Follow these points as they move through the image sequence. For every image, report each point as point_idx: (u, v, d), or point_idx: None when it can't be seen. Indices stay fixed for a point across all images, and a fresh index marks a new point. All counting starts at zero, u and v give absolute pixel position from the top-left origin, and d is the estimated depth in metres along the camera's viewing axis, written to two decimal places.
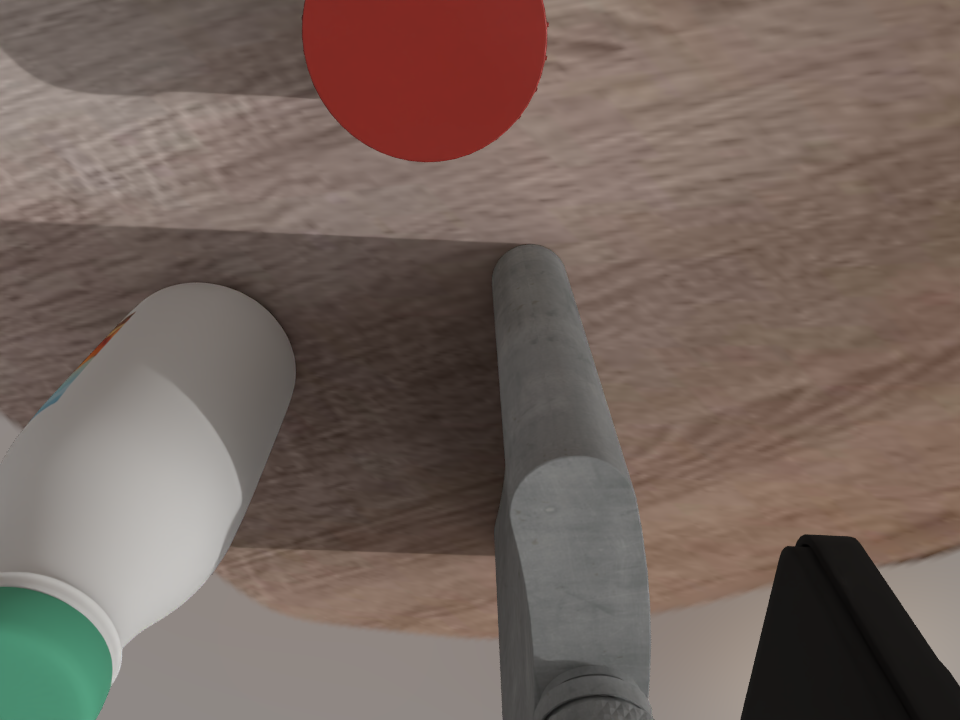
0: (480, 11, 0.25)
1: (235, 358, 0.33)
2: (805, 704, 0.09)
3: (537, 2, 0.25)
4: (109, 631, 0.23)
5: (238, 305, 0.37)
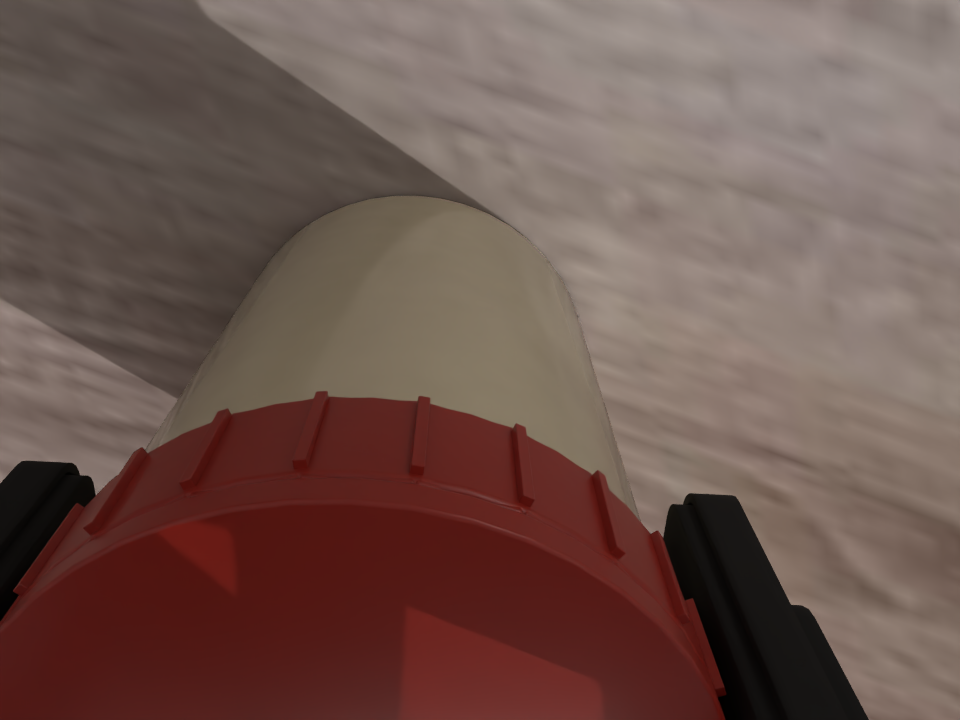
0: None
1: None
2: None
3: None
4: None
5: None
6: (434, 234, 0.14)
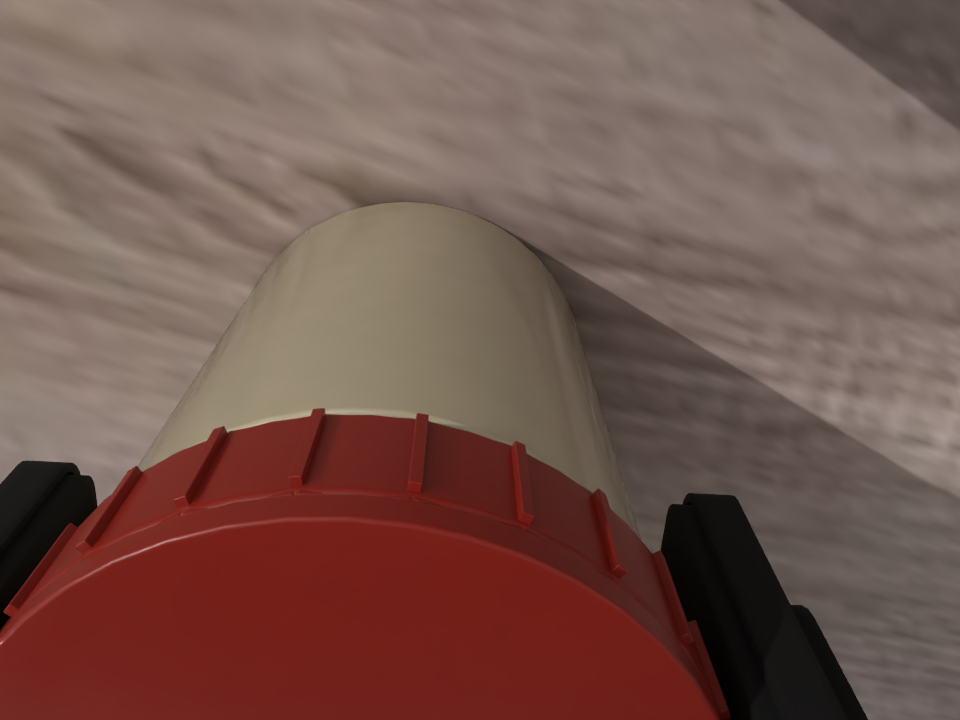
0: None
1: None
2: None
3: None
4: None
5: None
6: None
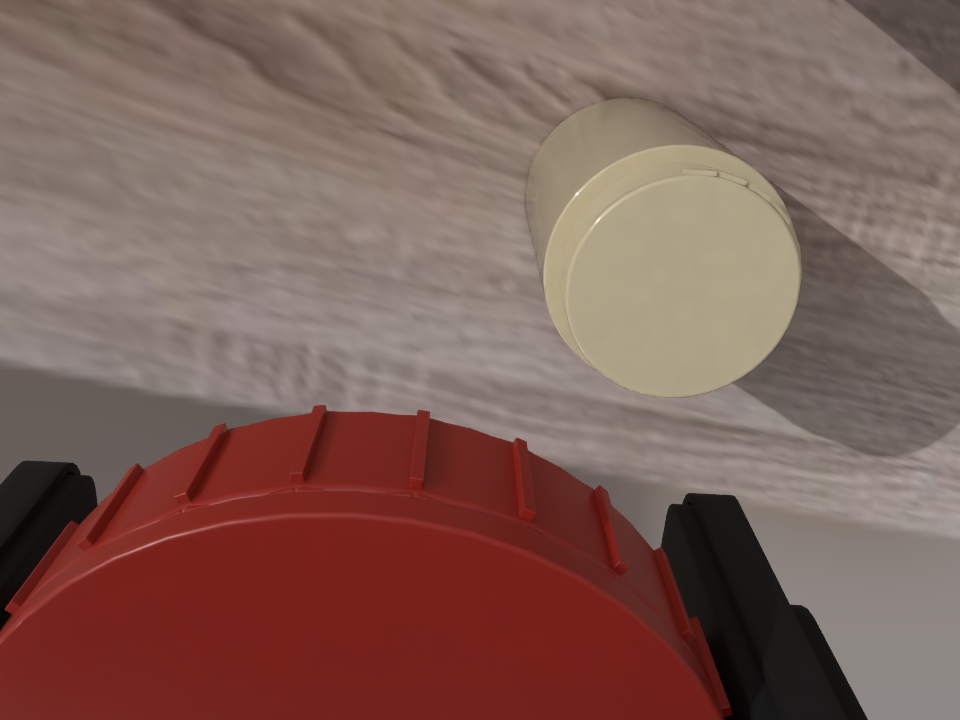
0: None
1: None
2: None
3: None
4: None
5: None
6: None
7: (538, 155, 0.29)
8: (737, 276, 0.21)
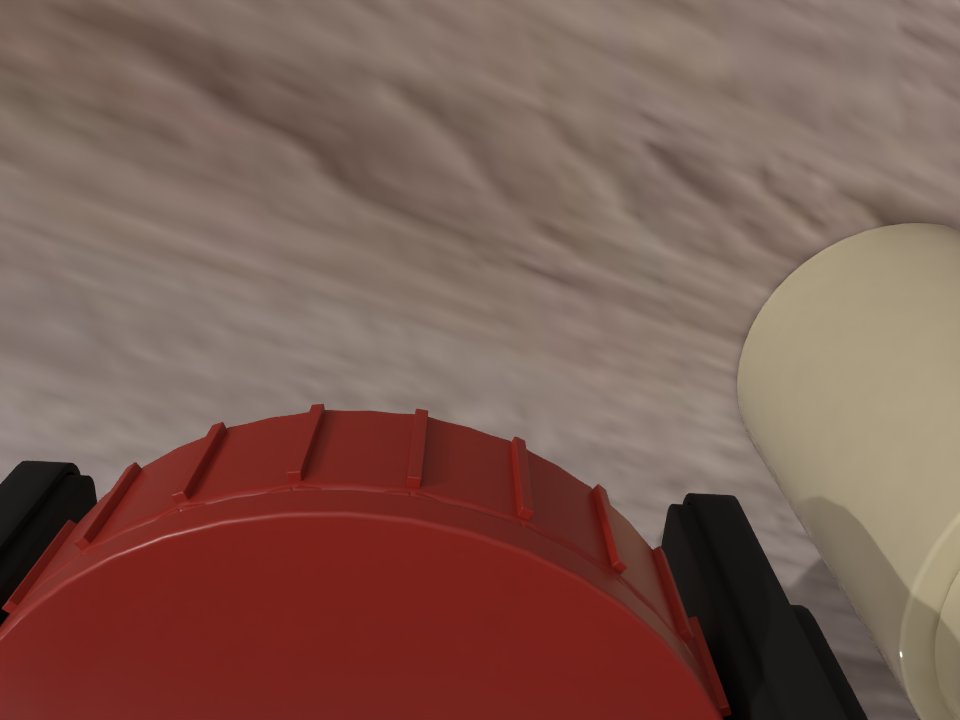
0: None
1: None
2: None
3: None
4: None
5: None
6: None
7: (774, 311, 0.18)
8: None
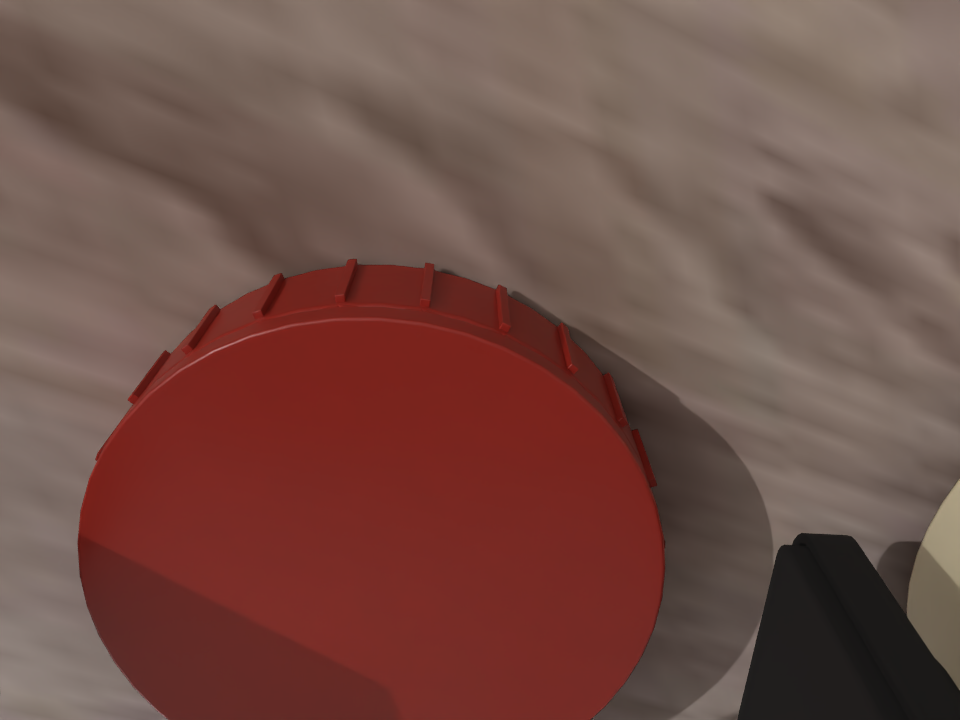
0: (519, 600, 0.11)
1: None
2: (801, 703, 0.09)
3: (637, 639, 0.11)
4: None
5: None
6: None
7: None
8: None
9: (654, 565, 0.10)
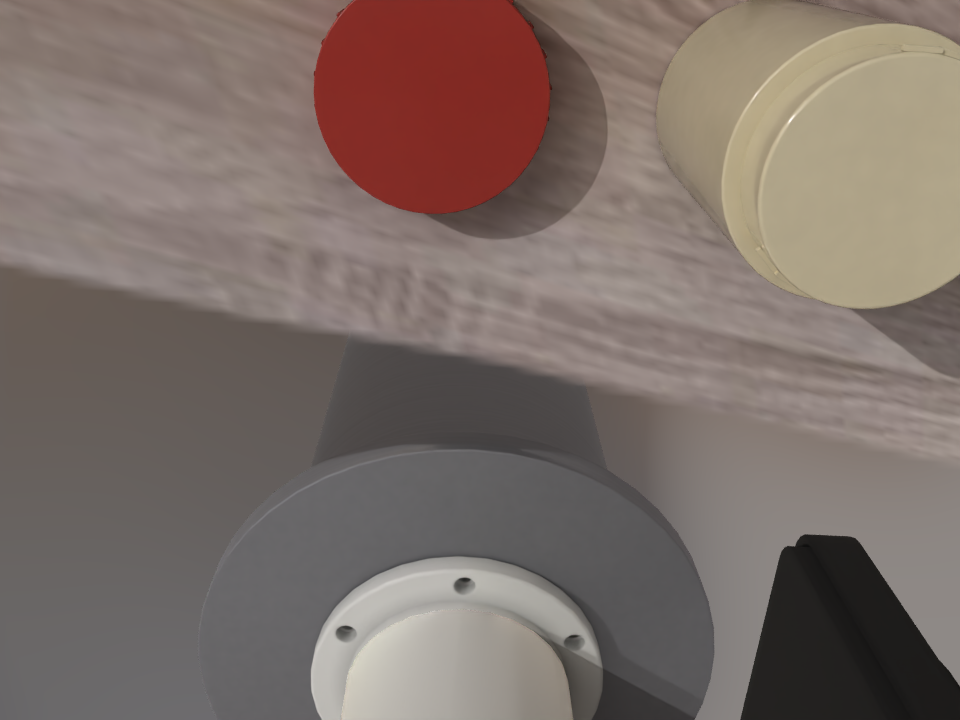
0: (491, 106, 0.26)
1: None
2: (805, 704, 0.09)
3: (540, 127, 0.26)
4: None
5: None
6: None
7: (677, 59, 0.27)
8: (952, 170, 0.19)
9: (545, 88, 0.26)
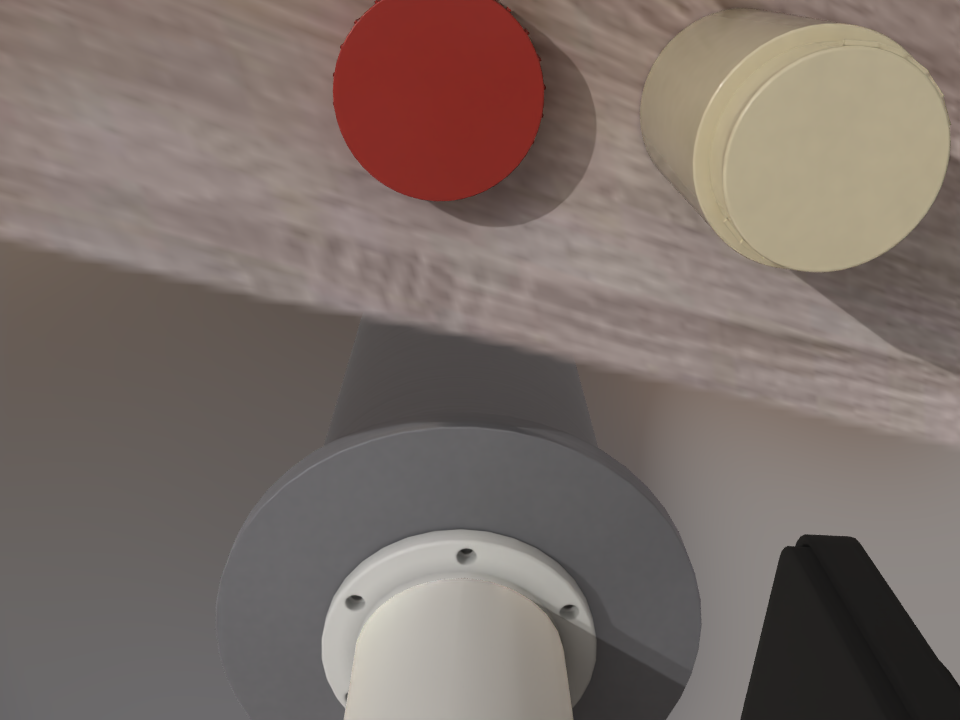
0: (491, 103, 0.29)
1: None
2: (805, 704, 0.09)
3: (535, 123, 0.29)
4: None
5: None
6: None
7: (658, 62, 0.30)
8: (890, 149, 0.22)
9: (539, 87, 0.29)
